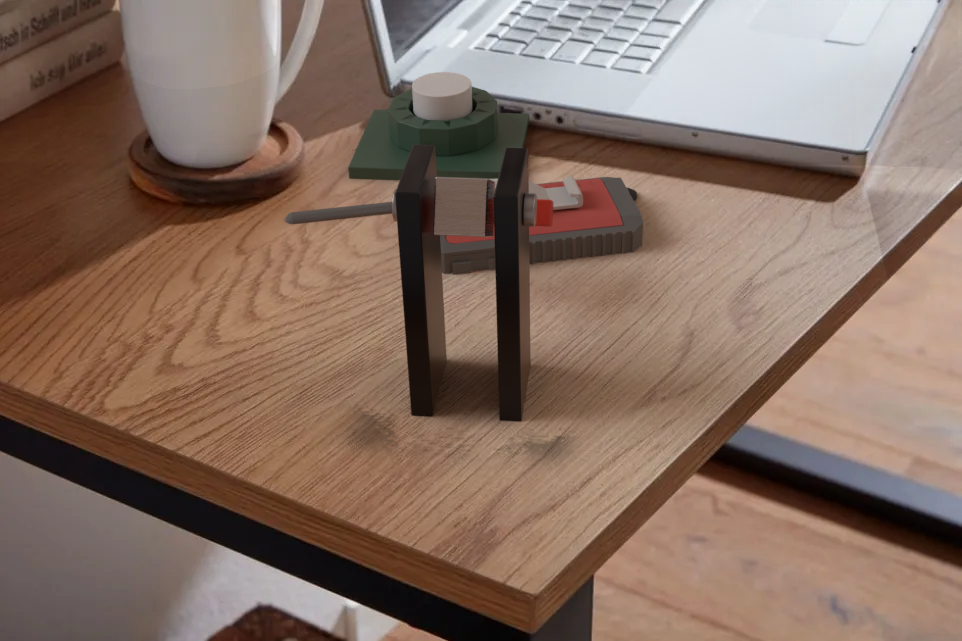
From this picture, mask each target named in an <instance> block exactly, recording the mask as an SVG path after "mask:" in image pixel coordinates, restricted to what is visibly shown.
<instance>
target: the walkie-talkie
mask: <svg viewBox="0 0 962 641" xmlns="http://www.w3.org/2000/svg"><path fill="white" fill-rule="evenodd" d="M490 180H493V181H495V188H496V184H497V180H498V178H497V179H490ZM529 193H536V195H537V199H547V200H552V201H553V202H554V203H553V225H552V226H551V227H543V226H534V227H529V264H533V265H535V264H536V263H546V262H556V261H566V260H569V259H572V260H576V259H579V258H581V259H586V258H588V257H589V258H590V257H592V258H596V257H597V256H602V257H605V256H606V255H613V256H614V255H616V254H621V255H623V254H624V255H625V254H626V253H634V252H636V251H637V250H638V249H639V248H641V247H642V246H643V237H644V236H643V234H644V233H643V232H644V220H643V216H642V213H641V211H640V209H639V207H638V206H637V204H636V201H637V200H638V192H637V191H636V190H635V189H633V188H630V187H627V186H626V184H625V182H624V181H623V178H622V177H614V176H613V177H611V176H600V177H591V178H580V179H576V178H575V177H574V175H570V176H567V177H564V178H563V180H561V181H554V182H544V183H535V182H533V181H531V180H529ZM390 214H392V201H386V202H385V201H384V202H376V203H375V202H374V203H366V204H365V203H364V204H356V205H348V206H347V205H345V206H338V207H328V208H327V207H326V208H318V209H309V210H308V209H307V210H300V211H291V212H289V213H288V214H286V216H285V219H284V220H285V222H286V223H285V224H289V225H299V224H300V225H301V224H308V223H318V222H327V221H335V220H336V221H337V220H345V219H353V218H364V217H371V216H381V215H390ZM440 243H441V262H442V274H444V275H446V274H452V275H453V276H454V275H462V274H471V273H472V272H475V271H484V270H485V271H486V270H489V271H495V237H494V231H493V236H492V237H471V236H445V235H440Z"/></svg>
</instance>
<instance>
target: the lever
mask: <svg viewBox="0 0 962 641" xmlns="http://www.w3.org/2000/svg"><path fill="white" fill-rule="evenodd" d="M494 193H495V181H493V180H490V179H487V178H459V177H436V178H435V196H434V225H433V234H434V235H445V236H471V237H492V236H493V231H494V200H493V197H494ZM553 203H554V202H553V201H552V200H547V199H537V218H536V225H535V226H543V227H551V226H552V225H553Z"/></svg>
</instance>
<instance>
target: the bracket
mask: <svg viewBox="0 0 962 641" xmlns="http://www.w3.org/2000/svg"><path fill="white" fill-rule="evenodd" d="M529 171H530V170H529V148H528V147H524V148H508V147H507V148H505V151H504V155H503V160H502V164H501V168H500V172H499V176H498V180H497V184H496V188H495V193H494V197H493V200H494V237H495V270H494V272H495V303H496V304H495V305H496V306H495V307H496V308H495V309H496V311H495V312H496V343H497V344H496V345H497V349H496V350H497V379H498V380H497V382H498V383H497V384H498V386H497V387H498V419H499V421H501V422H515V423H516V422H522V421H523V415H524V408H525V404H526V403H525V402H526V397H527V396H526V395H527V390H528V382H529V377H530V371H531V288H530V287H531V281H530V279H531V278H530V277H531V276H530V268H531V266H530V263H529V227H534V226H535V225H536V218H537V195H536V193H529V181H530V179H529V176H530V174H529V173H530V172H529ZM436 177H437V168H436V149H435V146H434V145H413V146H412V149H411V152H410V154H409V157H408V160H407V163H406V165H405V168H404V171H403V173H402V176H401V179H400V180H398V185H397V187H396V188H395V189H394V190H393V193H392V200H391V202H392V219H393V221H394V222H395V223H396V227H397V240H398V252H399V267H400V282H401V294H402V308H403V321H404V323H403V324H404V336H405V348H406V362H407V376H408V389H409V404H410V414H411V416H412V417H424V418H425V417H426V418H432V417H434V414H435V411H436V405H437V402H438V398H439V394H440V390H441V385H442V382H443V377H444V374H445V370H446V365H447V362H448V359H447V357H448V356H447V339H446V322H445V319H446V318H445V302H444V301H445V300H444V284H443V283H444V281H443V273H442V262H441V243H440V235H434V234H433V225H434V196H435V178H436Z"/></svg>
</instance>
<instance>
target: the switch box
mask: <svg viewBox="0 0 962 641" xmlns="http://www.w3.org/2000/svg"><path fill="white" fill-rule="evenodd" d="M529 126H530V114H529V113H517V112H516V113H511V112H498V100H497V99H496V98H494V97H493V95H492V94H490V93H489V92H488V91H487V90H485V89H481V88H479V87H476V86H472V112H471V113H470V114H468V115H466V116H465V117H462V118H457V119H452V120H427V119H423V118H420V117H417V116H415V114H414V111H413V95H412V88H410V89H407V90H406V91H404V92H402V93H400V94H399V95H396V96H394V97H393V98H392V100H391V102H390V104H389V107H388V109H373V110H372V113H371V115H370V117H369V119H368V121H367V124H366V126H365V128H364V131H363V133H362V135H361V137H360V140H359V142H358V144H357V146H356V149H355V152H353V156H352V158H351V160H350V162H349V164H348V167H347V171H348V178H349V179H350V180H373V181H400V179H401V176H402V173H403V171H404V168H405V165H406V163H407V160H408V157H409V154H410V152H411V149H412V146H413V145H434V146H435V149H436V168H437V177H459V178H487V179H497V178H498V176H499V172H500V168H501V164H502V160H503V155H504V151H505V148H507V147H508V148H525V144H526V139H527V134H528V130H529Z"/></svg>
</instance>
